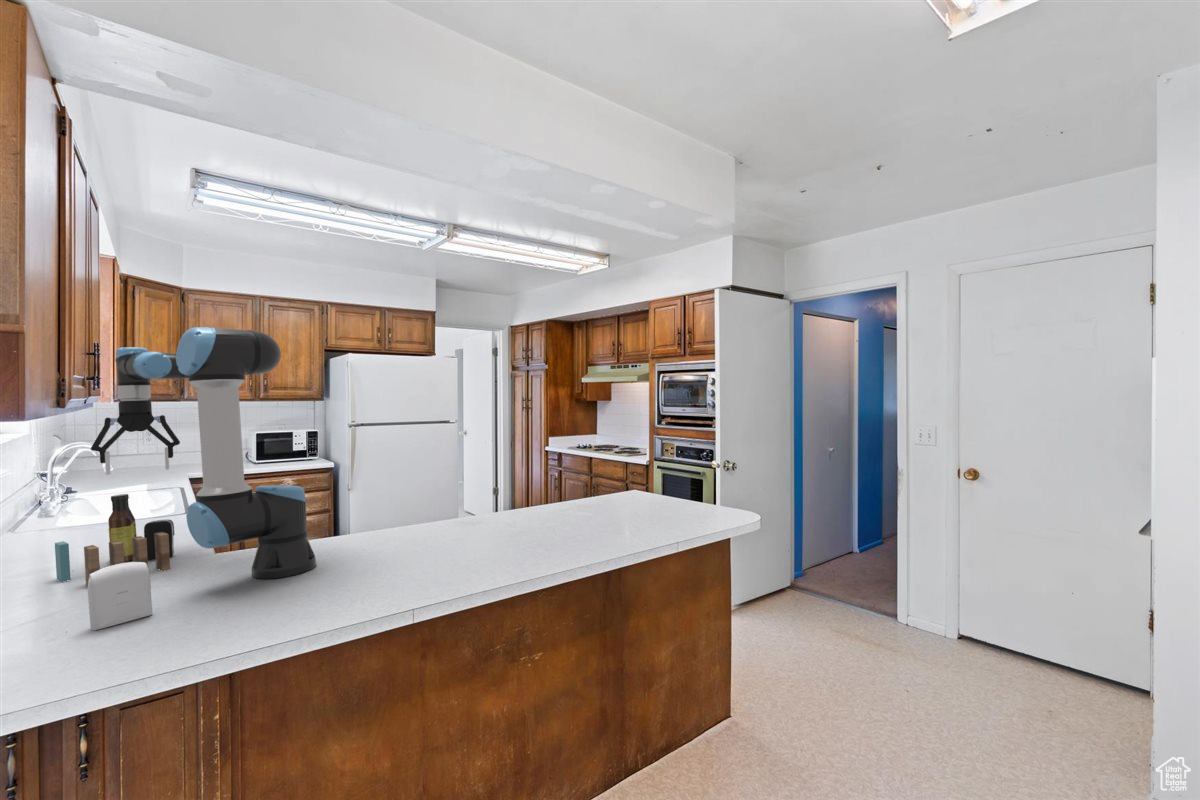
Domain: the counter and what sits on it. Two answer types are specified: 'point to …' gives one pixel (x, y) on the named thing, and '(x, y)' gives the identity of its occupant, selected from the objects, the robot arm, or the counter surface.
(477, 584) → the counter surface
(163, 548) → the domino
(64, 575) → the domino
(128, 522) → the sauce bottle
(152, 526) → the battery charger
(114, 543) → the domino
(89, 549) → the domino
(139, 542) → the domino
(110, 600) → the photo printer
